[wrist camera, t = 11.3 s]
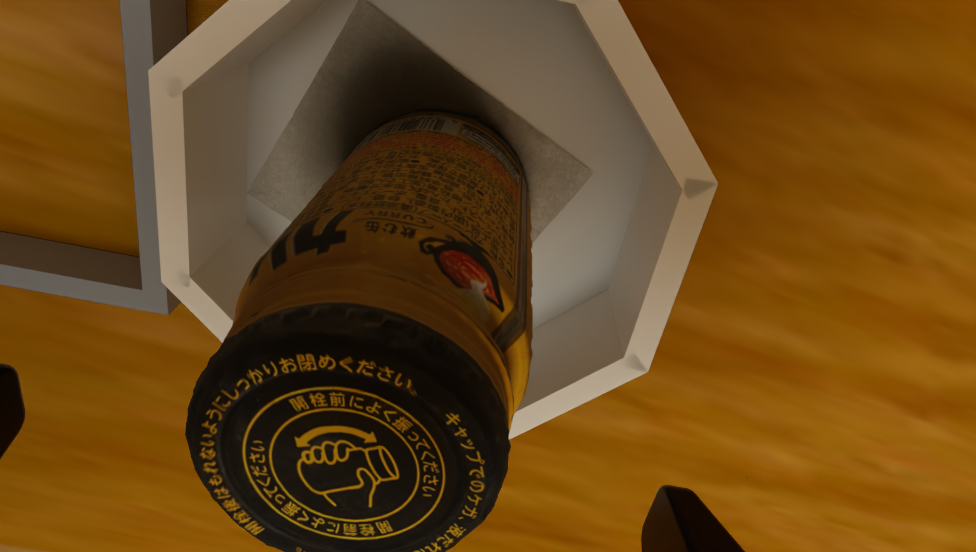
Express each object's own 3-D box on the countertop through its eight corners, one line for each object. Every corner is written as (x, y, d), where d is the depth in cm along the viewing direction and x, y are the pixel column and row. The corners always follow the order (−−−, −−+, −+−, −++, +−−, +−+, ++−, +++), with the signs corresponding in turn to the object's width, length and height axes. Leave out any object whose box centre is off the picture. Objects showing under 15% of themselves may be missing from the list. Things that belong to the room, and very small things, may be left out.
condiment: (459, 326, 23) (401, 659, 12) (248, 190, 21) (-43, 445, 10) (592, 171, 20) (671, 428, 9) (363, -5, 18) (124, 64, 7)
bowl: (595, 388, 24) (609, 475, 20) (228, 320, 24) (168, 396, 20) (725, -7, 18) (784, 5, 14) (225, -112, 17) (135, -131, 13)
